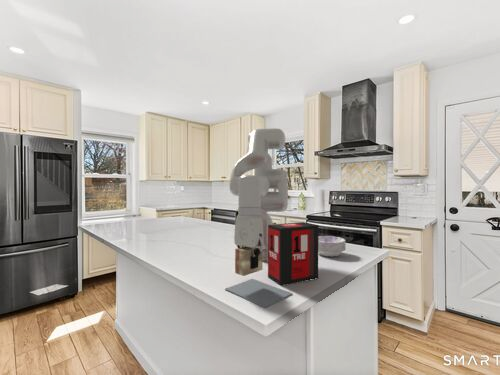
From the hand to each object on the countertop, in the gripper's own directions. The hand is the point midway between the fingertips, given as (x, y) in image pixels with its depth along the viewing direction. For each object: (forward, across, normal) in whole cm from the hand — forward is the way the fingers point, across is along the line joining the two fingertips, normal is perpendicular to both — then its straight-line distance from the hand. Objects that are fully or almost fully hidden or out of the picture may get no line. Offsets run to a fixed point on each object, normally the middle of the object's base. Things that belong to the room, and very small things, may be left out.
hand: (249, 265), depth 89 cm
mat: (+8, +4, 0) cm, 9 cm away
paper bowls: (+7, -2, +59) cm, 60 cm away
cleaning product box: (+8, +4, +19) cm, 21 cm away
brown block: (+2, 0, 0) cm, 2 cm away
